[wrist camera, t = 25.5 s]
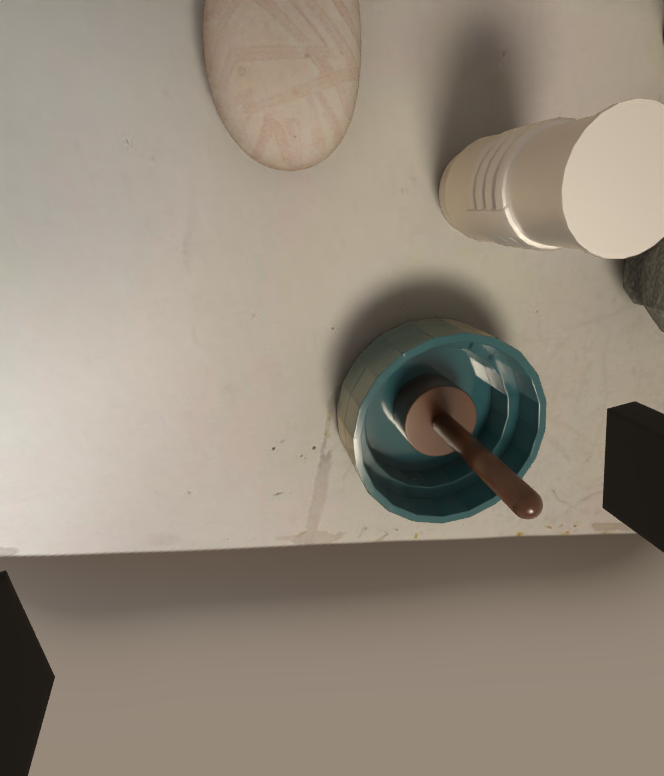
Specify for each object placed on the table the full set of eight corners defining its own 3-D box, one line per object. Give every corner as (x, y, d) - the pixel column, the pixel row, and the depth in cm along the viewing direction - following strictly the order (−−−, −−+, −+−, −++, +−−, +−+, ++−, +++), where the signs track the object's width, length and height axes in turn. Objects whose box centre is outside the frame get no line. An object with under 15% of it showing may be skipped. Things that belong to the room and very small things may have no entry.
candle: (413, 178, 37) (534, 161, 23) (495, 116, 36) (667, 61, 23) (460, 260, 39) (594, 290, 25) (537, 203, 39) (714, 202, 25)
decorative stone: (206, -83, 30) (205, -136, 25) (360, -49, 32) (385, -92, 27) (201, 163, 34) (199, 156, 29) (339, 179, 36) (357, 176, 31)
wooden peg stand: (395, 446, 42) (485, 567, 28) (389, 380, 40) (483, 475, 26) (460, 433, 43) (580, 545, 29) (458, 368, 41) (586, 453, 27)
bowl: (344, 498, 44) (363, 541, 38) (325, 331, 39) (343, 352, 33) (503, 465, 46) (543, 500, 40) (504, 303, 41) (549, 318, 35)
